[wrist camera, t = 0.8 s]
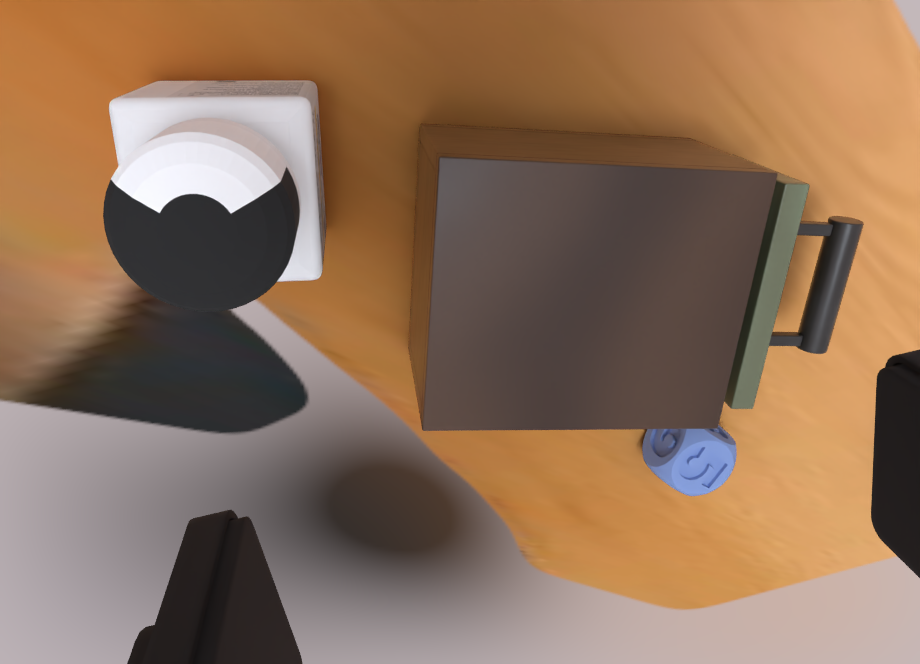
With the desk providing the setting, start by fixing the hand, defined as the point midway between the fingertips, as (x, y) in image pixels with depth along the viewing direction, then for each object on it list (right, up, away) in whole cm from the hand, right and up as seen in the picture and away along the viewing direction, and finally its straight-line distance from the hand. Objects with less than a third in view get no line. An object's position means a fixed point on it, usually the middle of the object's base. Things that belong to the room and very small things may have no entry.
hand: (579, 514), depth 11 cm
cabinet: (+3, +7, +31) cm, 32 cm away
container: (-13, +11, +27) cm, 32 cm away
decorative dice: (+12, -4, +37) cm, 39 cm away
